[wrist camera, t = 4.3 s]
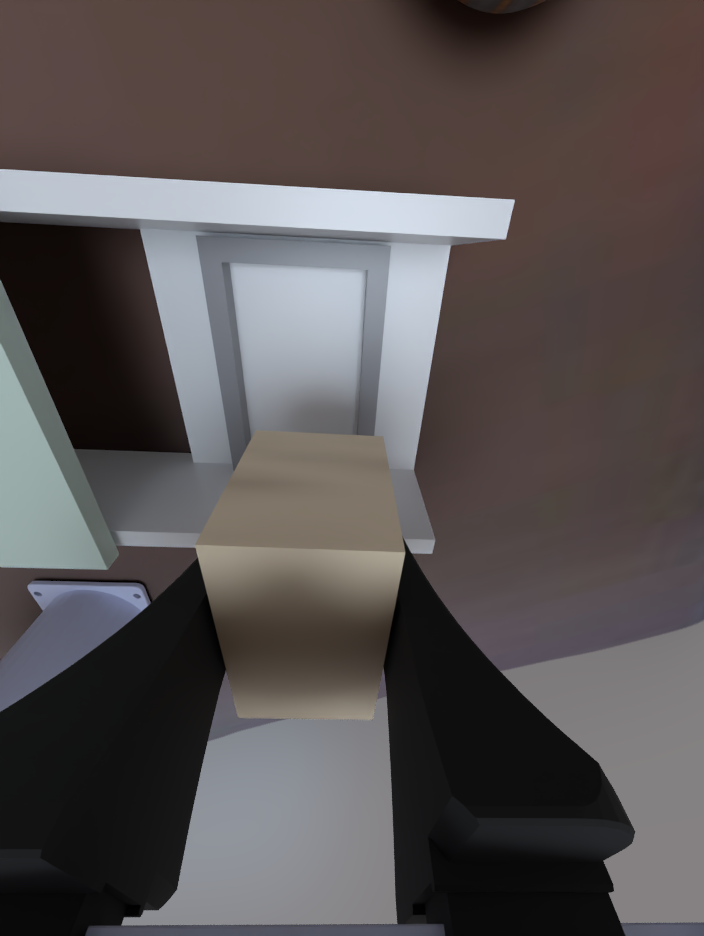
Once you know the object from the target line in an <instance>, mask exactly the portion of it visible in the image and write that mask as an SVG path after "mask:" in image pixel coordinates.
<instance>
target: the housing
mask: <svg viewBox="0 0 704 936" xmlns="http://www.w3.org/2000/svg"><path fill="white" fill-rule="evenodd" d="M514 201H515V200H508V199H492V198H475V197H458V196H442V195H425V194H408V193H391V192H375V191H358V190H341V189H325V188H308V187H291V186H274V185H258V184H241V183H224V182H208V181H191V180H174V179H157V178H141V177H124V176H107V175H91V174H74V173H57V172H40V171H24V170H7V169H0V222H12V223H30V224H48V225H66V226H84V227H103V228H121V229H139V230H140V231H141V236H142V240H143V244H144V249H145V253H146V258H147V262H148V266H149V271H150V275H151V279H152V284H153V288H154V292H155V297H156V301H157V305H158V310H159V314H160V318H161V323H162V327H163V332H164V336H165V340H166V345H167V349H168V353H169V358H170V362H171V366H172V371H173V375H174V379H175V384H176V388H177V392H178V397H179V401H180V406H181V410H182V414H183V419H184V423H185V427H186V432H187V436H188V440H189V445H190V449H191V453H174V452H145V451H116V450H87V449H74V451H75V453H76V455H77V458H78V460H79V462H80V465H81V467H82V469H83V472H84V474H85V476H86V478H87V481H88V483H89V485H90V488H91V490H92V492H93V495H94V497H95V499H96V502H97V504H98V506H99V508H100V511H101V513H102V515H103V518H104V520H105V522H106V525H107V527H108V529H109V532H110V534H111V536H112V538H113V541H114V543H115V545H116V546H153V547H192V548H195V544H196V542H197V540H198V538H199V536H200V534H201V532H202V531H203V529H204V527H205V525H206V523H207V521H208V519H209V517H210V516H211V514H212V512H213V510H214V508H215V506H216V504H217V502H218V501H219V499H220V497H221V495H222V493H223V491H224V489H225V487H226V486H227V484H228V482H229V480H230V478H231V476H232V474H233V472H234V471H235V469H236V467H237V465H238V463H239V461H240V459H241V457H242V456H243V454H244V452H245V450H246V448H247V446H248V444H249V442H250V441H251V439H252V437H253V435H254V433H255V431H256V430H260V431H281V432H302V433H322V434H343V435H364V436H383V439H384V444H385V449H386V454H387V459H388V464H389V470H390V475H391V480H392V485H393V490H394V496H395V501H396V506H397V511H398V516H399V522H400V527H401V532H402V536H403V538H404V540H405V542H406V544H407V546H408V548H409V549H410V551H411V553H426V554H432V552H433V548H434V543H435V537H434V534H433V531H432V527H431V524H430V521H429V518H428V514H427V511H426V508H425V505H424V502H423V498H422V495H421V492H420V489H419V485H418V482H417V479H416V476H415V472H414V465H415V459H416V453H417V447H418V441H419V435H420V429H421V422H422V416H423V410H424V404H425V398H426V392H427V386H428V380H429V374H430V368H431V362H432V356H433V350H434V344H435V338H436V332H437V326H438V320H439V313H440V307H441V301H442V295H443V289H444V283H445V277H446V271H447V265H448V259H449V253H450V247H451V246H452V245H460V244H469V243H478V242H486V241H495V240H504V239H506V236H507V231H508V227H509V223H510V218H511V214H512V210H513V206H514Z"/></svg>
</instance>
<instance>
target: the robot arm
mask: <svg viewBox="0 0 704 936" xmlns="http://www.w3.org/2000/svg"><path fill="white" fill-rule="evenodd" d="M402 537H403V536H402ZM403 542H404V548H405V557H404V562H403V567H402V573H401V578H400V583H399V588H398V593H397V598H396V603H395V609H394V614H393V619H392V624H391V629H390V634H389V640H388V645H387V650H386V655H385V660H384V665H383V667H384V674H385V682H386V691H387V707H388V724H389V743H390V761H391V782H392V805H393V832H394V859H395V890H396V909H397V923H398V924H349V925H348V924H347V925H346V924H345V925H344V924H343V925H342V924H341V925H169V926H168V925H160V926H159V925H153V926H152V925H147V926H121V924H122V921H123V918H124V917H141V915H142V913H143V910H159V909H160V908H161V907H162V906H163V905H164V904H165V903H166V902H167V901H168V900H169V899H170V898H171V896H172V895H173V894H174V892H175V891H176V890H177V886H178V881H179V875H180V870H181V865H182V860H183V855H184V850H185V845H186V839H187V835H188V829H189V824H190V819H191V814H192V810H193V804H194V800H195V796H196V791H197V786H198V781H199V777H200V772H201V768H202V763H203V759H204V754H205V750H206V746H207V741H208V737H209V733H210V728H211V724H212V720H213V716H214V712H215V708H216V704H217V700H218V695H219V691H220V688H221V684H222V681H223V678H224V674H225V671H226V667H225V663H224V659H223V655H222V651H221V647H220V643H219V639H218V635H217V631H216V627H215V623H214V619H213V615H212V611H211V607H210V603H209V599H208V595H207V591H206V587H205V583H204V579H203V575H202V572H201V568H200V564H199V560H198V558H197V559H196V560H195V561H194V562H193V563H192V564H191V565H190V566H189V567H188V568H187V569H186V570H185V571H184V573H183V574H182V575H181V576H180V577H178V578H177V579H176V580H175V581H174V582H173V583H172V584H171V585H170V586H169V587H168V588H167V589H166V590H165V591H164V592H163V593H161V594H160V595H159V596H158V597H157V598H156V599H155V600H154V601H153V602H152V603H151V602H150V600H149V597H148V595H147V592H146V590H145V588H144V586H143V585H142V584H139V583H117V582H72V581H32V582H31V583H30V584H29V585H28V590H29V591H30V593H31V594H32V596H33V597H34V599H35V600H36V602H37V603H38V604H39V606H40V607H41V609H42V610H43V612H42V613H41V614H40V615H39V617H38V618H37V619H36V620H35V621H34V622H33V624H32V625H31V626H30V627H29V628H28V629H27V631H26V632H25V633H24V634H23V635H22V636H21V637H20V639H19V640H18V641H17V642H16V643H15V644H14V646H13V647H12V648H11V649H10V650H9V651H8V653H7V654H6V655H5V656H4V657H3V658H2V660H1V661H0V936H704V923H620V921H619V918H618V916H617V913H616V911H615V909H614V906H613V904H612V901H611V899H610V896H609V894H608V892H613V891H614V888H613V883H612V881H611V878H610V876H609V874H608V871H607V869H606V867H605V864H604V862H603V860H605V859H607V858H609V857H610V856H612V855H614V854H616V853H618V852H620V851H621V850H623V849H625V848H626V847H628V846H629V845H630V844H632V842H633V838H634V834H635V831H634V828H633V826H632V824H631V822H630V820H629V818H628V816H627V814H626V812H625V810H624V808H623V806H622V804H621V802H620V800H619V798H618V796H617V795H616V793H615V791H614V789H613V787H612V785H611V784H610V782H609V781H608V779H607V777H606V776H605V774H604V772H603V771H602V769H601V767H600V765H599V763H598V762H597V761H595V760H594V759H593V758H592V757H591V756H590V755H588V754H587V753H586V752H585V751H584V750H583V749H582V748H580V747H579V746H578V745H577V744H576V743H575V742H574V741H572V740H571V739H570V738H569V737H567V735H565V734H564V733H563V732H562V731H561V730H560V729H559V728H557V727H556V726H555V725H554V724H553V723H552V722H551V721H550V720H549V719H547V718H546V717H545V716H544V715H543V714H542V713H541V712H540V711H539V710H538V709H537V708H536V707H535V706H534V705H533V704H532V703H531V702H530V701H528V699H527V698H525V697H524V696H523V695H522V694H521V693H520V692H519V691H518V689H517V688H516V687H515V686H514V685H513V684H512V683H511V682H510V681H509V680H508V679H507V678H506V677H505V676H504V675H503V674H502V673H501V672H500V671H499V670H498V669H497V668H496V667H495V666H494V665H493V664H492V662H491V661H490V660H489V659H488V658H487V657H486V656H485V655H484V654H483V652H482V651H481V650H480V649H479V648H478V647H477V646H476V644H475V643H474V642H473V641H472V640H471V638H470V637H469V636H468V635H467V634H466V632H465V631H464V630H463V629H462V627H461V626H460V625H459V624H458V622H457V621H456V620H455V619H454V617H453V616H452V615H451V613H450V612H449V611H448V609H447V608H446V606H445V605H444V604H443V602H442V601H441V599H440V598H439V597H438V595H437V594H436V592H435V591H434V589H433V588H432V586H431V585H430V583H429V581H428V580H427V578H426V577H425V575H424V574H423V572H422V570H421V569H420V567H419V565H418V564H417V562H416V560H415V558H414V557H413V555H412V553H411V551H410V549H409V548H408V546H407V544H406V542H405V540H404V538H403Z"/></svg>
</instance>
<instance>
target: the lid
mask: <svg viewBox="0 0 704 936" xmlns="http://www.w3.org/2000/svg"><path fill="white" fill-rule="evenodd" d="M118 556H119V552H118V550H117V548H116V545H115V543H114V541H113V538H112V536H111V534H110V532H109V529H108V527H107V525H106V522H105V520H104V518H103V515H102V513H101V511H100V508H99V506H98V504H97V502H96V499H95V497H94V495H93V492H92V490H91V488H90V485H89V483H88V481H87V478H86V476H85V474H84V472H83V469H82V467H81V465H80V462H79V460H78V458H77V455H76V453H75V451H74V448H73V446H72V444H71V442H70V439H69V437H68V435H67V432H66V430H65V428H64V425H63V423H62V421H61V418H60V416H59V414H58V411H57V409H56V407H55V405H54V402H53V400H52V398H51V395H50V393H49V391H48V388H47V386H46V384H45V381H44V379H43V377H42V375H41V372H40V370H39V368H38V365H37V363H36V361H35V358H34V356H33V354H32V351H31V349H30V347H29V345H28V342H27V340H26V338H25V335H24V333H23V331H22V328H21V326H20V324H19V321H18V319H17V317H16V315H15V312H14V310H13V308H12V305H11V303H10V301H9V298H8V296H7V294H6V291H5V289H4V287H3V285H2V282H1V280H0V567H16V568H59V569H101V570H108V569H109V567H110V566H111V565H112V564H113V562H114V561H115V560H116V558H117V557H118Z"/></svg>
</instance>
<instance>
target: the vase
mask: <svg viewBox="0 0 704 936" xmlns="http://www.w3.org/2000/svg"><path fill="white" fill-rule="evenodd" d="M458 1H460V2H461V3H463V4H465V5H466V6H469V7H471V8H473V9H476V10H479V11H483V12H487V13H494V14H504V13H512V12H517V11H521V10H524V9H527V8H530V7H533V6H535V5H538V4H540V3H542V2H544V1H547V0H458Z"/></svg>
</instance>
